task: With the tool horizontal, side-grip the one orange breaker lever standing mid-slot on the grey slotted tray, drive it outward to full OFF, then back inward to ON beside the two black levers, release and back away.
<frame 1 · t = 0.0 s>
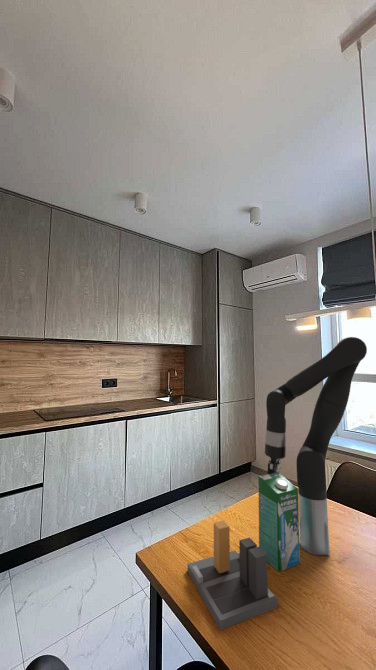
hand: (273, 487, 104), 17 cm above the table, tool pointing down, fingers open, 8 cm apart
grey slotted tray: (221, 577, 82), on the table
milk carton: (279, 559, 90), on the table, touching hand
breaker lever: (221, 546, 83), point 9 cm above the table, slide at 0.0 cm
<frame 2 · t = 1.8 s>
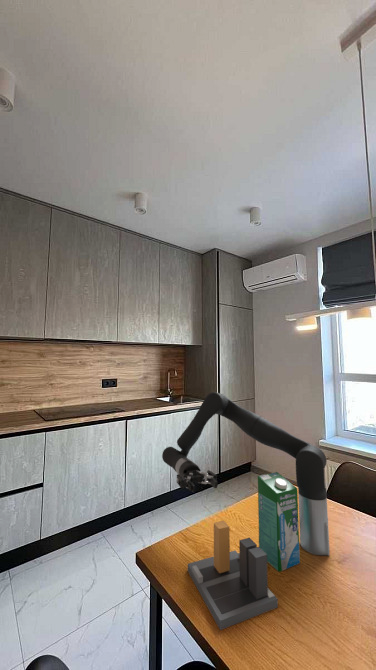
hand: (205, 487, 94), 21 cm above the table, tool horizontal, fingers open, 8 cm apart
milk carton: (279, 559, 90), on the table
everything else where it was.
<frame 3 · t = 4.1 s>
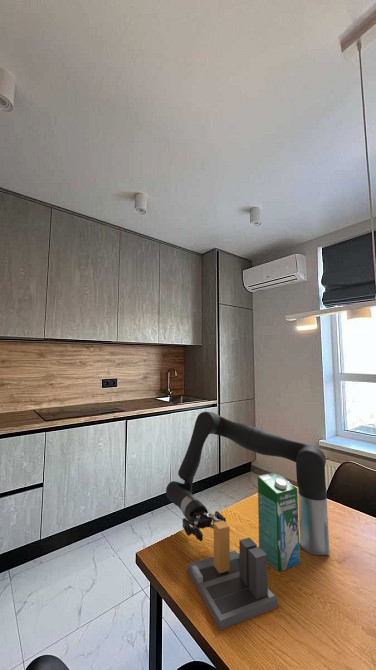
hand: (213, 534, 87), 9 cm above the table, tool horizontal, fingers open, 8 cm apart
nothing on the table moved.
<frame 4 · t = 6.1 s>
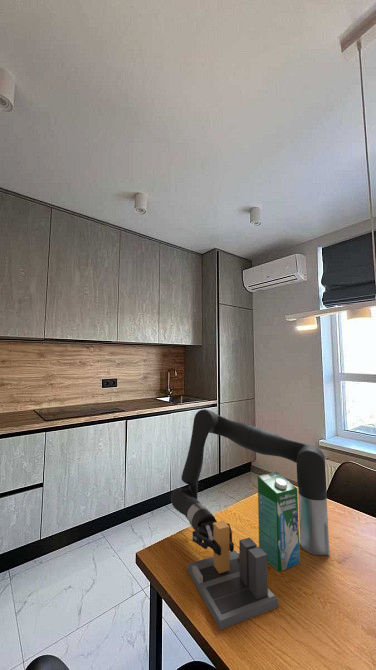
hand: (226, 549, 80), 9 cm above the table, tool horizontal, fingers closed on breaker lever, 3 cm apart
breaker lever: (221, 546, 83), point 9 cm above the table, slide at 0.0 cm, touching gripper
everything else where it was.
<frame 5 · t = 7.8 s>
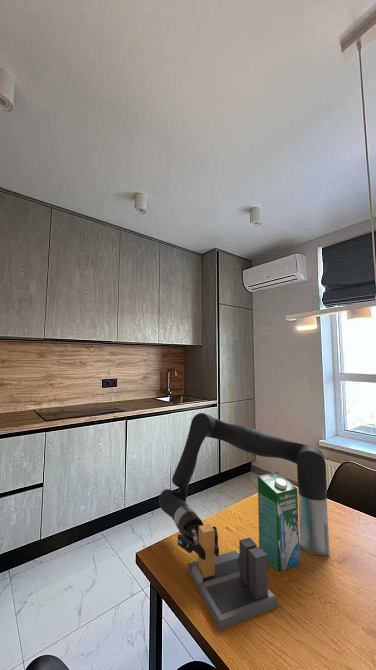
hand: (210, 554, 78), 9 cm above the table, tool horizontal, fingers closed on breaker lever, 3 cm apart
breaker lever: (206, 550, 81), point 9 cm above the table, slide at 5.0 cm, touching gripper
everything else where it was.
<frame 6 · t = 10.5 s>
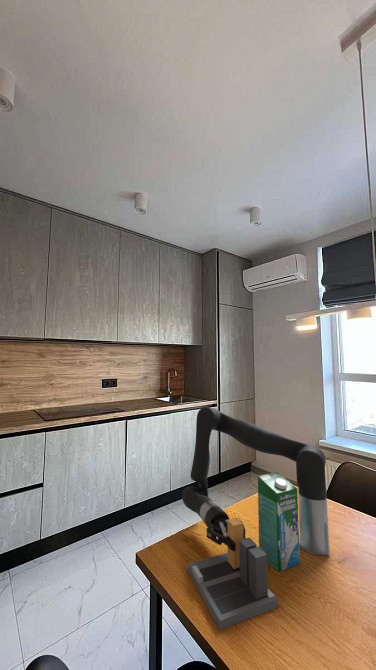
hand: (240, 546, 82), 9 cm above the table, tool horizontal, fingers closed on breaker lever, 3 cm apart
breaker lever: (235, 542, 85), point 9 cm above the table, slide at -4.9 cm, touching gripper
everything else where it was.
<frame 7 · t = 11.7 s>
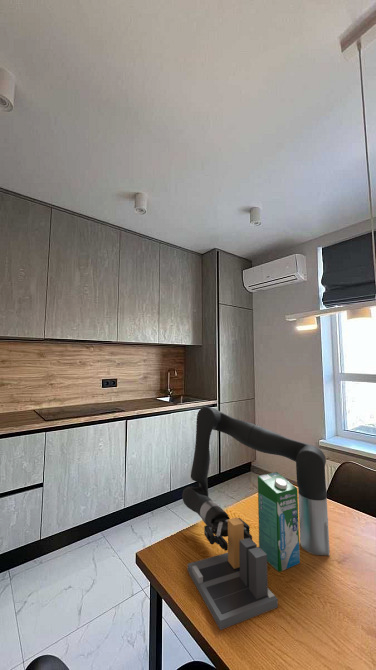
hand: (239, 543, 83), 9 cm above the table, tool horizontal, fingers open, 8 cm apart
breaker lever: (235, 542, 85), point 9 cm above the table, slide at -5.0 cm
everything else where it was.
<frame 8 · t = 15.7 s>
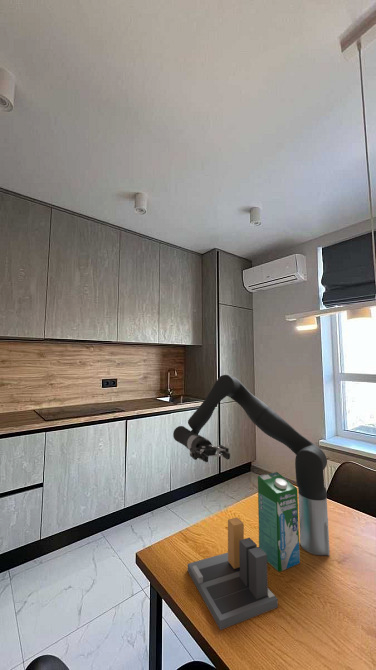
hand: (218, 458, 97), 30 cm above the table, tool horizontal, fingers open, 8 cm apart
nothing on the table moved.
at the end: breaker lever slide at -5.0 cm; the gripper is holding nothing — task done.
